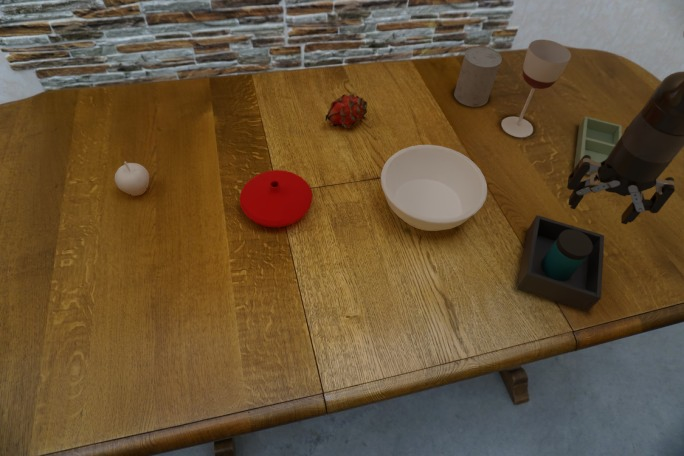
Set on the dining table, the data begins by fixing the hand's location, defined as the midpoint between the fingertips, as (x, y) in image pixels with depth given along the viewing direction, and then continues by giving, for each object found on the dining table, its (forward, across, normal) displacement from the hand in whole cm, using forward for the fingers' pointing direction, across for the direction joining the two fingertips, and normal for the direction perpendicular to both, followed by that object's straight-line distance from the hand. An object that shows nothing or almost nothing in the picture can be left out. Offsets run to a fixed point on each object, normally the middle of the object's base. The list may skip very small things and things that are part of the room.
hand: (597, 212), depth 80 cm
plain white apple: (+18, -91, -16) cm, 94 cm away
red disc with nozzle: (+18, -60, -7) cm, 63 cm away
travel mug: (+18, 0, 0) cm, 18 cm away
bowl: (+18, -29, +6) cm, 35 cm away
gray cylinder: (+18, -28, +50) cm, 60 cm away
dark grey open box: (+18, 0, 0) cm, 18 cm away
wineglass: (+19, -14, +42) cm, 48 cm away
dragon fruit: (+18, -56, +25) cm, 64 cm away
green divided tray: (+18, +6, +40) cm, 44 cm away
